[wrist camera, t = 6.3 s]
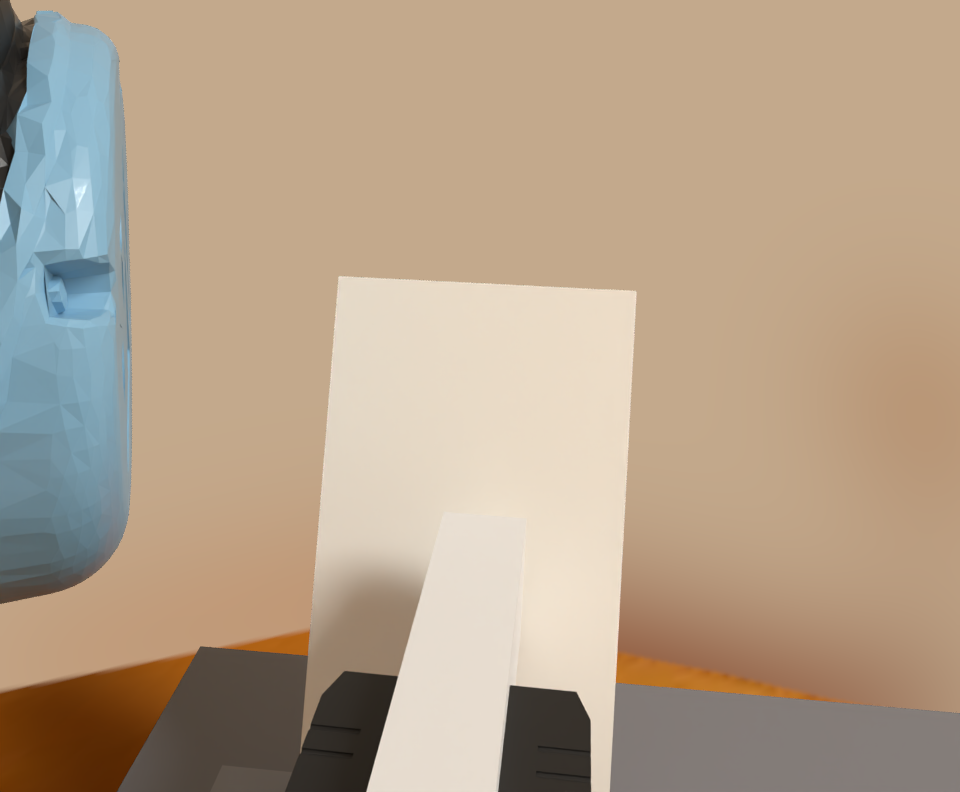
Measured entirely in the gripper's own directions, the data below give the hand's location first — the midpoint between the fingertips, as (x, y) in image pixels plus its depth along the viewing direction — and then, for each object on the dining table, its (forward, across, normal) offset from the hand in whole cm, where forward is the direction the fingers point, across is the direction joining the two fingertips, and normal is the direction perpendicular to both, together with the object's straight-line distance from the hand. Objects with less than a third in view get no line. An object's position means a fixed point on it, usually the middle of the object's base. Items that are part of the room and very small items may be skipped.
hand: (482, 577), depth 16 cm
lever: (-2, 0, -7) cm, 7 cm away
